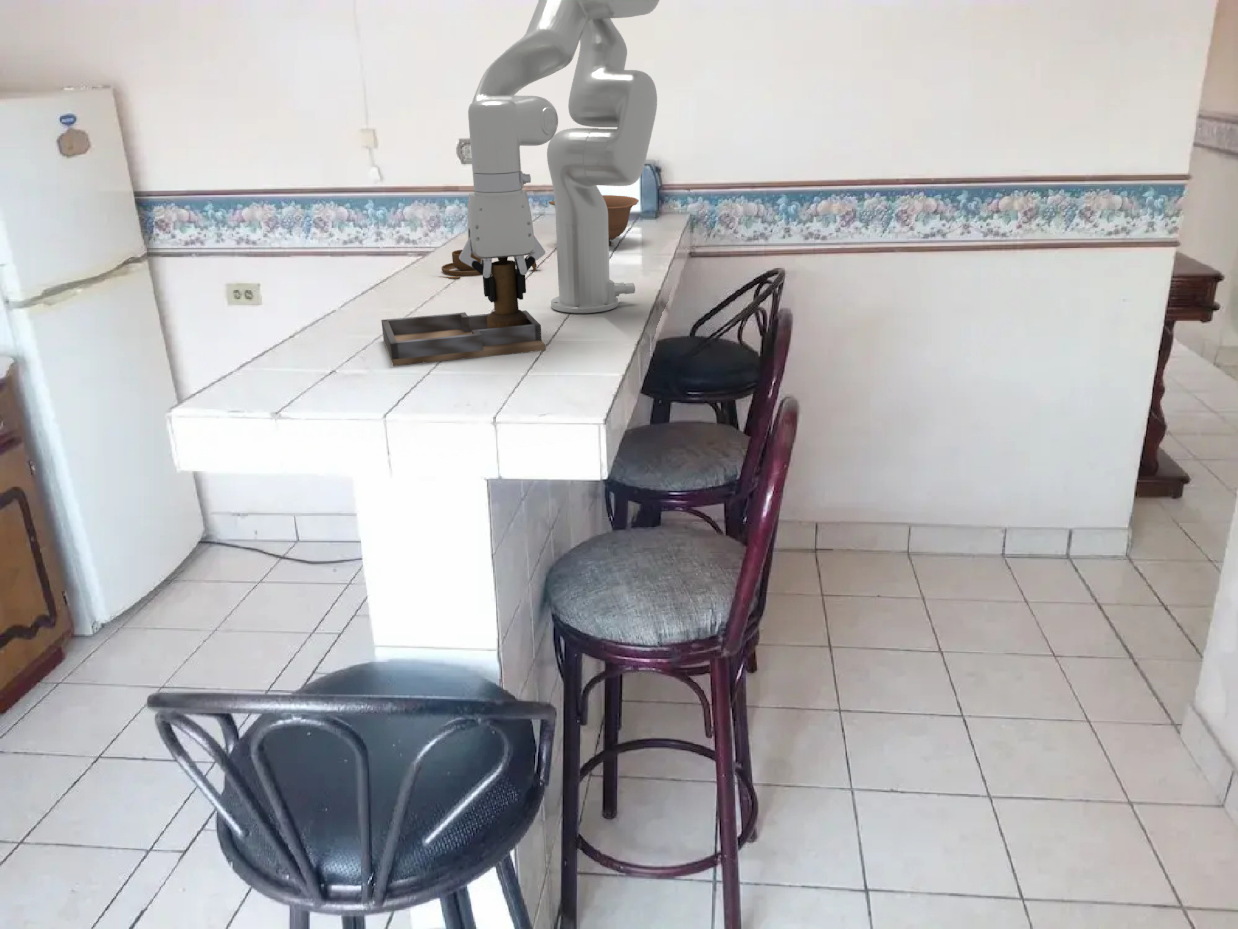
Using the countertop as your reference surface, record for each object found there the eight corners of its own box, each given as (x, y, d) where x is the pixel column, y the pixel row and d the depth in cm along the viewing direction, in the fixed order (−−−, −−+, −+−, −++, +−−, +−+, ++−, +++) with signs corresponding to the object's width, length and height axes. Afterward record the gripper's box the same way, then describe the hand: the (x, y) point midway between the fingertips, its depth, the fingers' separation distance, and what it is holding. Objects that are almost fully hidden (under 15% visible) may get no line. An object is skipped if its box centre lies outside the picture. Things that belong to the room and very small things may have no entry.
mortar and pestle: (480, 333, 165) (472, 221, 159) (497, 323, 171) (490, 215, 164) (518, 336, 163) (511, 222, 156) (534, 326, 169) (527, 216, 162)
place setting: (474, 264, 234) (472, 238, 231) (545, 271, 224) (543, 245, 221) (422, 278, 220) (420, 251, 218) (495, 287, 210) (493, 258, 208)
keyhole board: (524, 326, 176) (522, 307, 175) (545, 350, 162) (544, 328, 160) (383, 340, 170) (381, 319, 168) (393, 365, 155) (390, 343, 154)
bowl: (538, 242, 256) (536, 197, 252) (618, 234, 264) (617, 191, 260) (568, 256, 237) (566, 208, 233) (653, 247, 245) (653, 201, 241)
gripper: (544, 177, 164) (549, 290, 171) (440, 184, 159) (450, 299, 166) (555, 182, 157) (560, 299, 164) (447, 189, 153) (458, 309, 160)
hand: (505, 298), depth 165 cm, fingers closed on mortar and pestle, 4 cm apart
